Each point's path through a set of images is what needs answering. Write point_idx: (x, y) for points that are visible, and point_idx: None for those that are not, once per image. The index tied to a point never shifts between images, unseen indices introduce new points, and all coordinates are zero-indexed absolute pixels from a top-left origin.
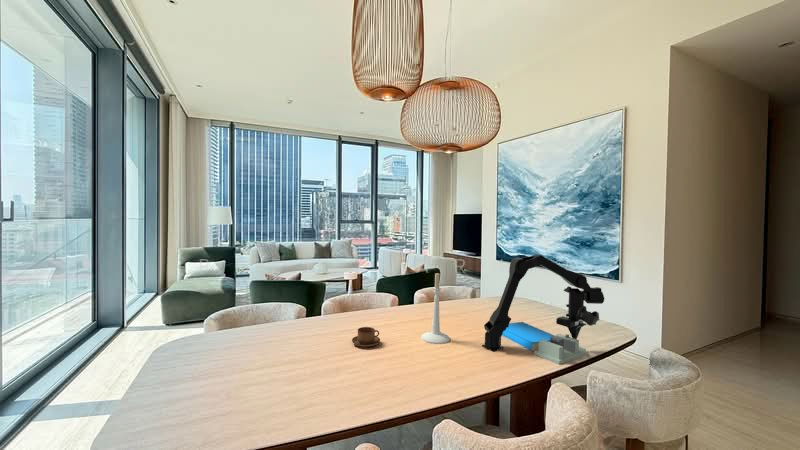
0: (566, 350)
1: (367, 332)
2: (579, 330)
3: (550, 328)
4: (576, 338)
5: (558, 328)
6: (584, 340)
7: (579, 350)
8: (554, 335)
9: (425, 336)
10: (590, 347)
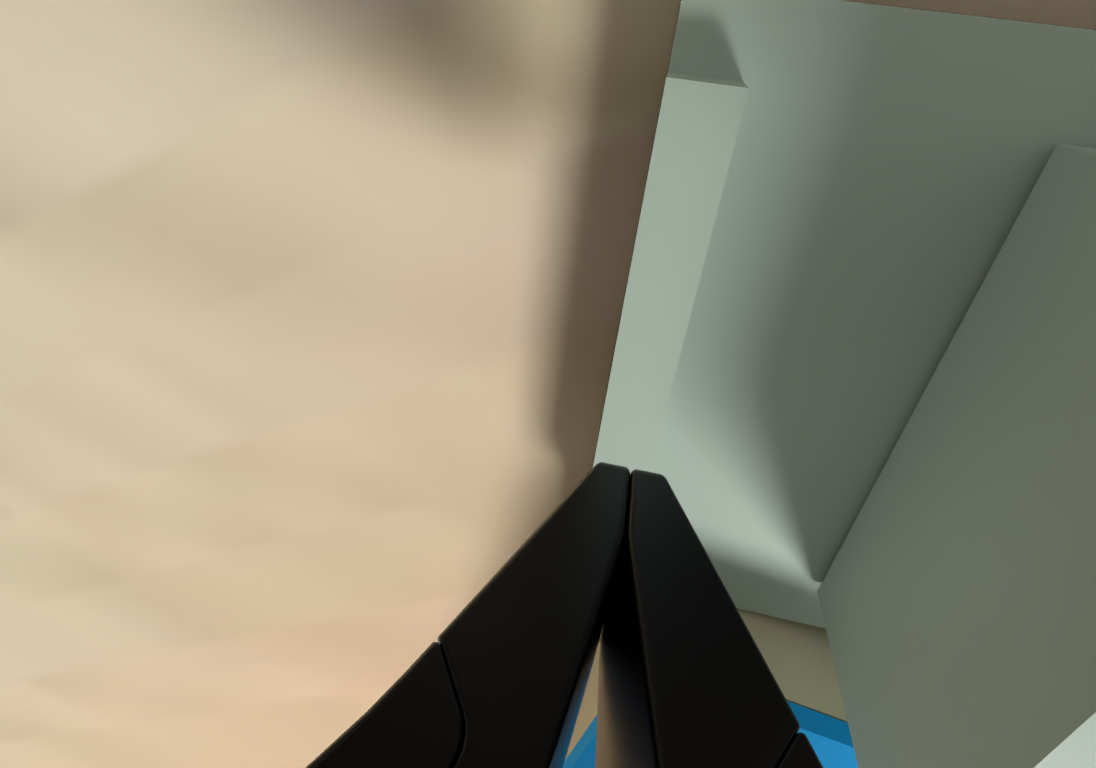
0: None
1: None
2: (431, 752)
3: (149, 731)
4: (610, 484)
5: (55, 684)
6: (16, 379)
7: (800, 199)
8: (574, 764)
9: None
10: (180, 170)
